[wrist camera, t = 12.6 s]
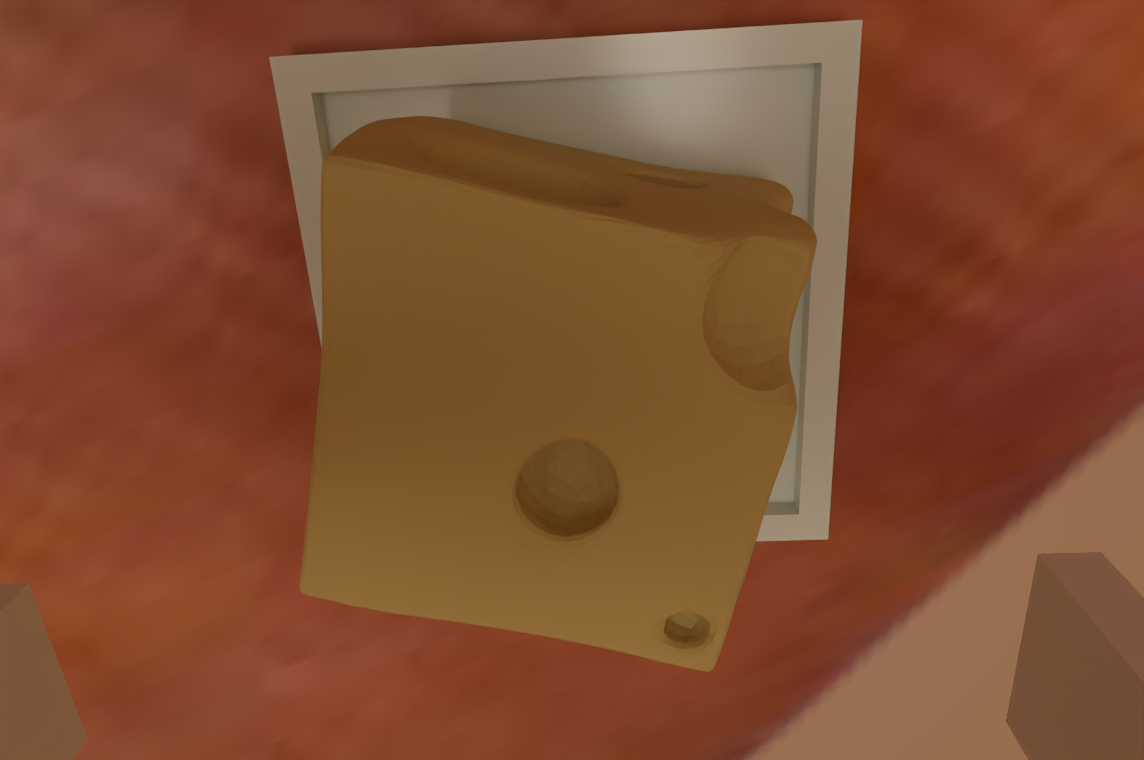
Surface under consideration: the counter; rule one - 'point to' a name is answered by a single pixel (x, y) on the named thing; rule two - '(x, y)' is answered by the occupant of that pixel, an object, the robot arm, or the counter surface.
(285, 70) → the plate
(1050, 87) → the counter surface
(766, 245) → the cheese
